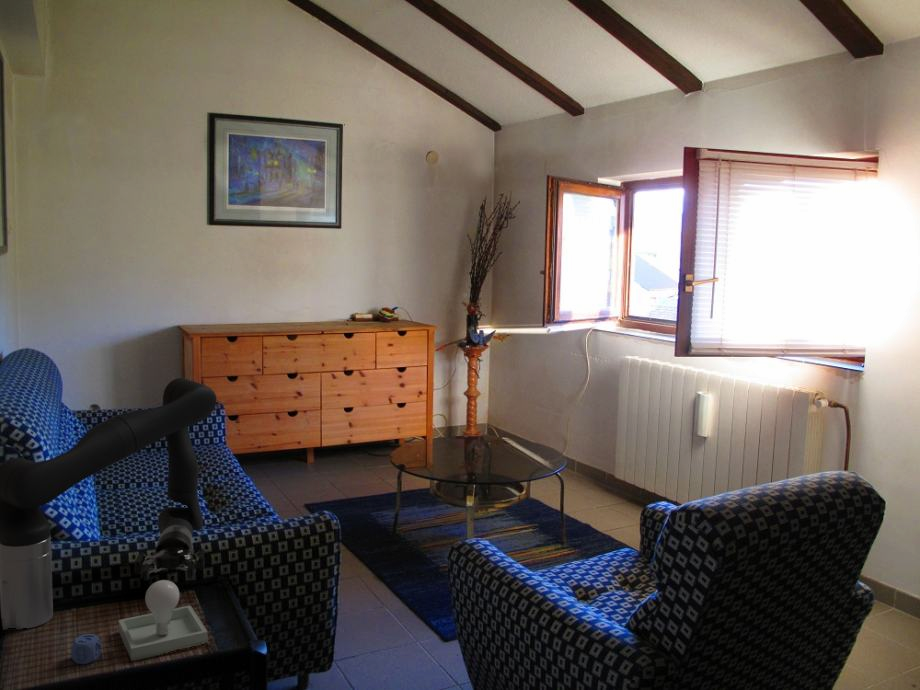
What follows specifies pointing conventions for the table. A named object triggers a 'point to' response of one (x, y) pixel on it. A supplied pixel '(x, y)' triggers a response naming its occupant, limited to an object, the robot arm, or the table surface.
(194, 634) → the parts tray
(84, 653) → the decorative dice
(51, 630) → the table surface
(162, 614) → the lightbulb
